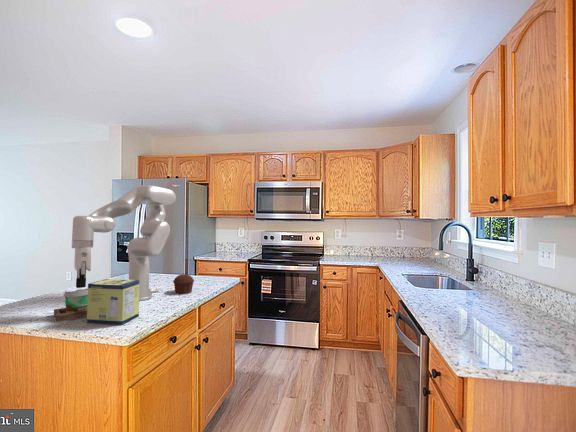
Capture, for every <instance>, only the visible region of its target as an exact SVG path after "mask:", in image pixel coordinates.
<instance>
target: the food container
mask: <svg viewBox="0 0 576 432" xmlns="http://www.w3.org/2000/svg"><path fill="white" fill-rule="evenodd" d="M63 298H64V300H65V308H66V313H71V312H77V311H83V310H87V300H88V287H87V288H79V289H76V290H74V291H66V290H65V291H64V293H63Z"/></svg>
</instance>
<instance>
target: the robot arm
mask: <svg viewBox="0 0 576 432" xmlns="http://www.w3.org/2000/svg"><path fill="white" fill-rule="evenodd" d="M176 201H177V196H176V193H175V192H174V190H172V189H170V188H165V187H162V186H157V185H153V184H147V185H146V184H145V185H144V184H143V185H136V186H134V187H133V188H132V189H129V191H127V192H126V193H125V194H123V195H122V196H120V198H118V199H116V200H113V201H112V202H110V203H108V204H106V205H105V204H104V205H103V206H100V207H99V208H97V209H96V210H94V211H93V212H92V213H90V214H89V215H75V216H74V217H73V219H72V233H71V235H72V236H71V249H74V270H75V271H76V280H75V281H76V282H75V288H76V289H84V288H86V285H87V272H91V270H92V249H93V248H94V235H95V233H109V232H111V231H113V230H114V229H116V221H115V218H119V217H122V216H125V215H128V214H129V215H130V214H131V213H132V212H134V211H135V210H136V209H137V208H138V207H139V206H141V205H142V204H143V203H146V202H148V205H149V212H148V214H147V216H146V217H145V220H144V221H143V223H142V225H141V227H140V231H139V232H140V233H139V234H141V237H134V238H132V239H131V240H129V241H128V243H127V254H128V263H129V264H128V280H139V302H141V301H145V300H146V301H147V300H149V299H151V298H152V297H153V295H152V294H157V293H159V292H160V291H159V288H150V267H151V266H150V259H149V258H154V257H156V256H158V255H159V254H160V253H161V252H162V249H163V248H164V246H165V244H166V242H167V240H168V238H169V236H170V234H171V233H170V232H171V227H170V224H169V223H168V222H167V221H166V220H165V219H166V209H165V207H164V206H170V205H172V204H174V203H175V202H176ZM142 236H143V237H142Z"/></svg>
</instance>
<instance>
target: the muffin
mask: <svg viewBox="0 0 576 432" xmlns="http://www.w3.org/2000/svg"><path fill="white" fill-rule="evenodd" d="M194 281H195V280H194V278H193V277H192V276H191V275H190V274H187V273H185V274H184V273H182V274H179V275H177V276H176V277H175V278H174V280H172V284H174V293H175V294H176V295H187V294H191V293H192V290H193V285H194Z"/></svg>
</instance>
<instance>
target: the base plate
mask: <svg viewBox="0 0 576 432" xmlns="http://www.w3.org/2000/svg"><path fill="white" fill-rule="evenodd" d="M53 318H54V321H55V323H58V322H59V323H60V322H65V321H71V320H76V319H83V318H87V310H83V311H77V312H71V313H66V307H60V308H54V309H53Z"/></svg>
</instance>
